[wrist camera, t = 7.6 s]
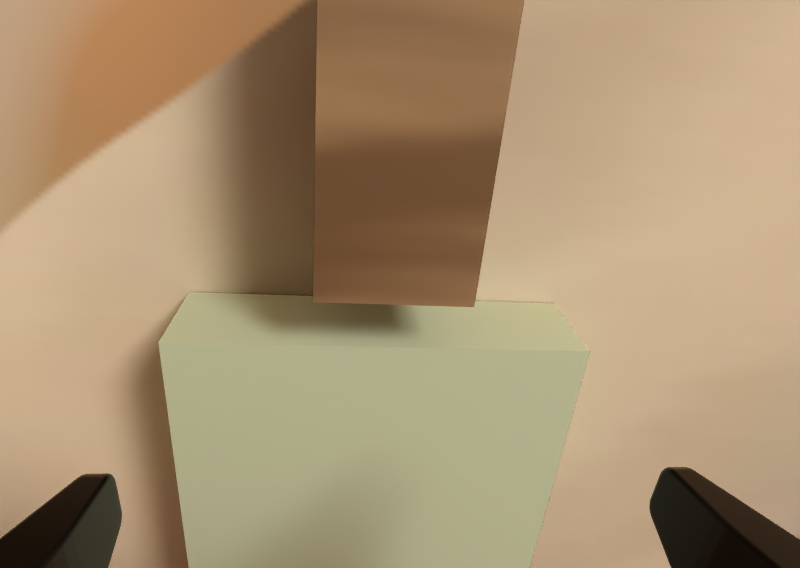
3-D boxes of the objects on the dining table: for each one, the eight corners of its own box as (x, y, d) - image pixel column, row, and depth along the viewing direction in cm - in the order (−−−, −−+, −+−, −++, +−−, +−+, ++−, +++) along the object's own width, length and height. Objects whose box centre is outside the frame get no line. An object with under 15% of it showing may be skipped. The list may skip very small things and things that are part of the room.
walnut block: (474, 307, 13) (546, -140, 9) (312, 302, 13) (320, -171, 9) (446, 248, 17) (491, -92, 13) (320, 242, 16) (327, -112, 12)
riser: (504, 512, 22) (527, 578, 19) (211, 517, 21) (191, 590, 18) (553, 303, 18) (590, 351, 15) (188, 291, 16) (157, 342, 14)
